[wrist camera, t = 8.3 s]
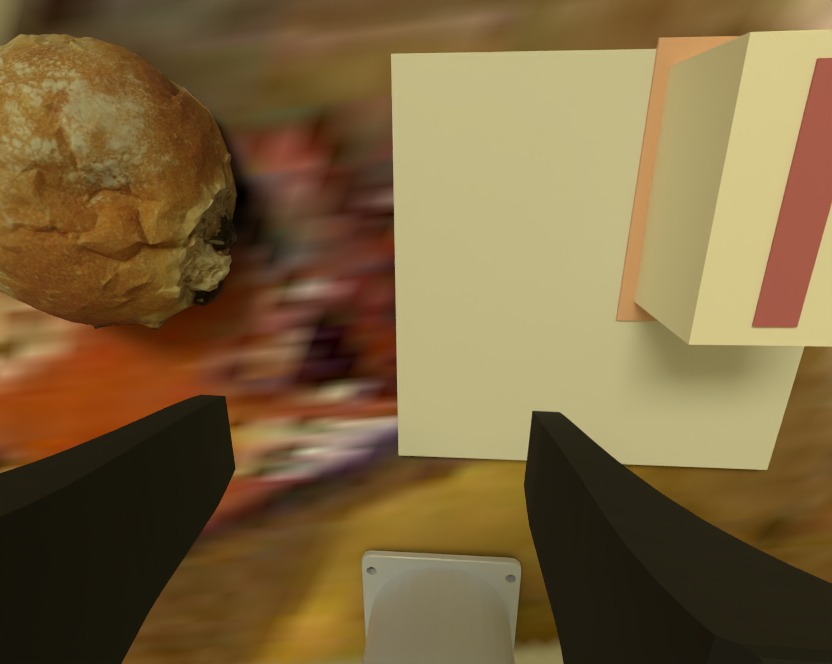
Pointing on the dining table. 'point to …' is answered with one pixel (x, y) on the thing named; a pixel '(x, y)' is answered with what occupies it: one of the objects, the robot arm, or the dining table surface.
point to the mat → (552, 267)
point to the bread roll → (108, 185)
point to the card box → (744, 195)
